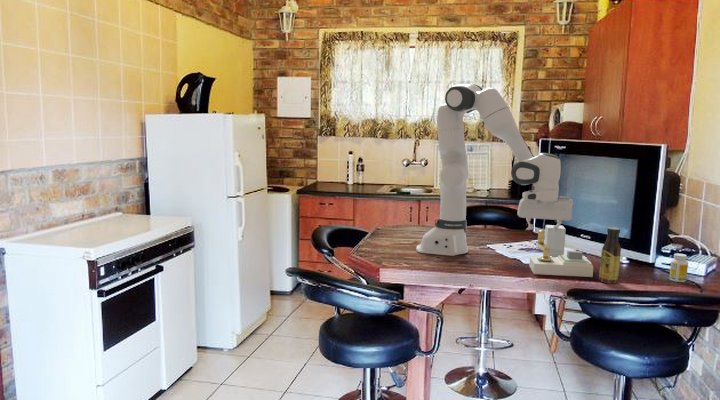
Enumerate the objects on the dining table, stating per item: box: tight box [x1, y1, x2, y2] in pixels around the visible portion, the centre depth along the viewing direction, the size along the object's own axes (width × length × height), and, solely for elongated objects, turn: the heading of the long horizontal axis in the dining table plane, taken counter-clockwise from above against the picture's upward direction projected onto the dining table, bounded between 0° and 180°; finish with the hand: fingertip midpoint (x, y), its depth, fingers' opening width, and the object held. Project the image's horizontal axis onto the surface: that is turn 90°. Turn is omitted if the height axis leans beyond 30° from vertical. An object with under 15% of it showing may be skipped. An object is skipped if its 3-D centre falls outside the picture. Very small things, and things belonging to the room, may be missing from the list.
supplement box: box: [544, 224, 566, 258], centre depth 232 cm, size 7×7×13 cm
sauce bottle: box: [598, 226, 622, 285], centre depth 195 cm, size 7×6×20 cm
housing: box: [528, 255, 594, 278], centre depth 208 cm, size 21×11×5 cm, turn 82°
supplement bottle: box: [668, 253, 689, 283], centre depth 198 cm, size 5×5×10 cm
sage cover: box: [561, 250, 589, 263], centre depth 207 cm, size 8×8×4 cm
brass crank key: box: [537, 229, 551, 262], centre depth 211 cm, size 10×4×10 cm, turn 0°
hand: (542, 230), depth 214 cm, fingers open, 8 cm apart
